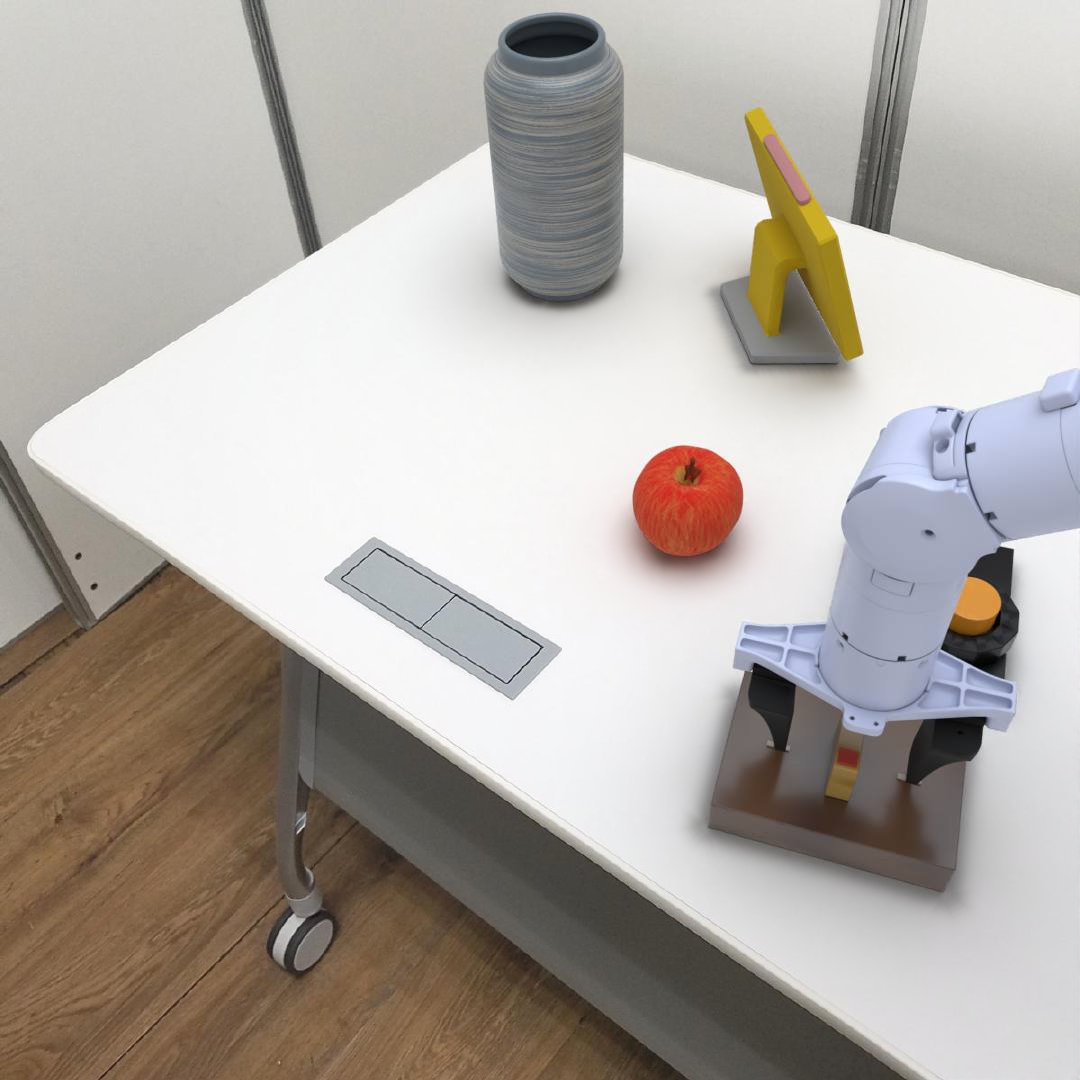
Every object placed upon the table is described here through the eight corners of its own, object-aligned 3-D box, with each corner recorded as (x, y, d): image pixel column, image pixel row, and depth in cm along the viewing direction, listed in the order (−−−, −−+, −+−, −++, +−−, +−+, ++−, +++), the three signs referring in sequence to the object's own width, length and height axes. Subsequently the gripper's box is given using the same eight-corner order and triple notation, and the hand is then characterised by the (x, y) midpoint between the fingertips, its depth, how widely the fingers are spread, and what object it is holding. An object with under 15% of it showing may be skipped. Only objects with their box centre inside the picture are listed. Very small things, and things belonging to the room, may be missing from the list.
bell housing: (1009, 569, 79) (1025, 532, 76) (999, 705, 72) (1015, 670, 69) (864, 539, 82) (874, 503, 79) (840, 668, 74) (850, 633, 71)
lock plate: (958, 747, 70) (970, 721, 68) (943, 892, 64) (956, 869, 61) (740, 695, 73) (745, 668, 71) (707, 827, 67) (710, 803, 65)
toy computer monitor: (857, 387, 93) (892, 224, 81) (766, 400, 92) (789, 238, 80) (786, 252, 106) (807, 95, 94) (706, 263, 105) (718, 107, 93)
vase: (509, 238, 110) (489, 4, 92) (625, 239, 108) (627, 2, 91) (495, 310, 102) (470, 70, 85) (620, 312, 101) (620, 69, 84)
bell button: (996, 599, 73) (1003, 582, 72) (992, 641, 71) (999, 625, 69) (940, 587, 74) (945, 571, 72) (934, 629, 72) (940, 613, 70)
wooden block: (837, 725, 68) (846, 692, 65) (860, 730, 68) (871, 697, 65) (824, 795, 65) (833, 763, 62) (848, 801, 65) (859, 770, 62)
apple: (700, 480, 86) (707, 405, 80) (759, 548, 82) (770, 473, 76) (612, 517, 84) (612, 443, 78) (666, 589, 80) (670, 515, 73)
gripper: (729, 644, 54) (712, 779, 65) (1038, 716, 51) (968, 846, 61) (757, 541, 59) (737, 682, 69) (1043, 600, 55) (977, 740, 65)
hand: (846, 752), depth 65 cm, fingers open, 7 cm apart
